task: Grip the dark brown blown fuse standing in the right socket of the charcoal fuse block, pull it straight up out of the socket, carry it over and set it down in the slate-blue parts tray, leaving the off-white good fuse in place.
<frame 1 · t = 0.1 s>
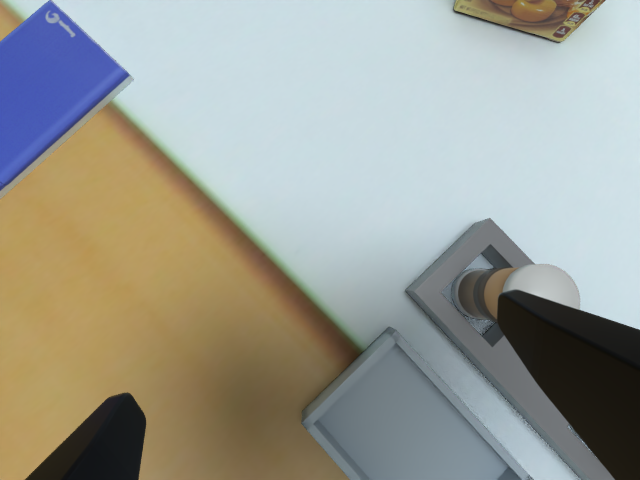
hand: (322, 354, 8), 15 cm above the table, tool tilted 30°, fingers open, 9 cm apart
blown fuse: (475, 293, 23), resting in fuse block
candy box: (510, 7, 26), on the table
parts tray: (408, 437, 22), on the table
hard drive: (39, 105, 25), on the table
fuse block: (533, 353, 23), on the table
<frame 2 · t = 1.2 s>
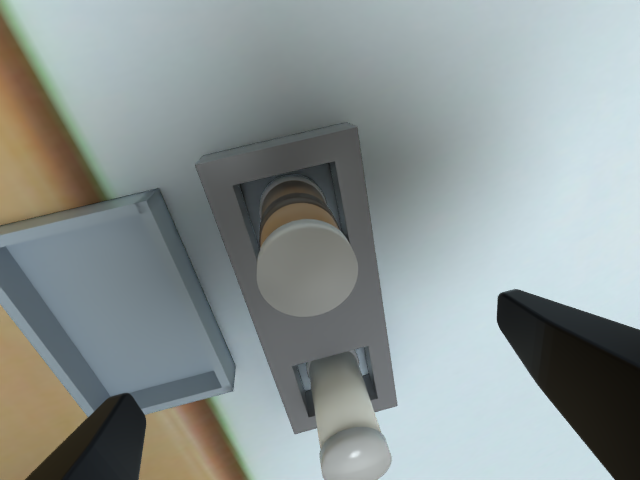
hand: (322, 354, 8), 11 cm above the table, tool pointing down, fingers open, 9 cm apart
blown fuse: (292, 206, 17), resting in fuse block
parts tray: (131, 308, 19), on the table
good fuse: (331, 358, 22), resting in fuse block
fuse block: (314, 292, 20), on the table
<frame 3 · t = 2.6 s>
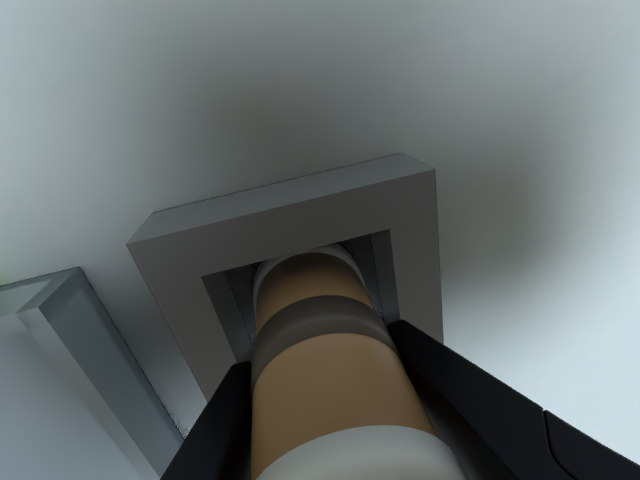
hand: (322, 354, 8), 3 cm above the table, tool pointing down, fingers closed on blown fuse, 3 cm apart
blown fuse: (307, 285, 11), resting in fuse block, touching gripper
parts tray: (51, 439, 12), on the table
fuse block: (337, 401, 13), on the table
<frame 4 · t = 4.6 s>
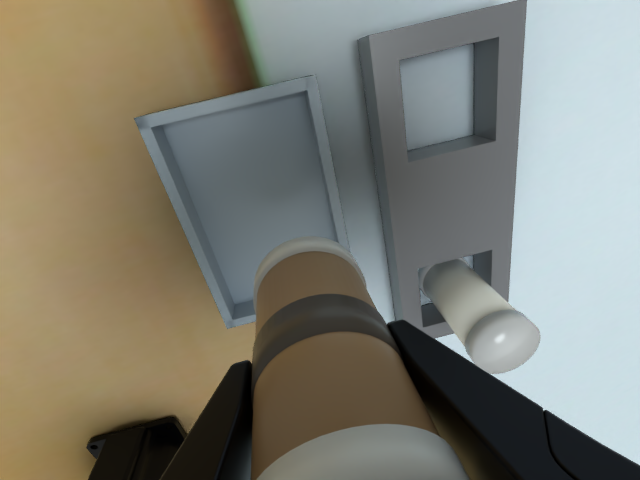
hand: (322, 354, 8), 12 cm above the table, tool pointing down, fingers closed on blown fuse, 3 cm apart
blown fuse: (308, 284, 11), point 9 cm above the table, touching gripper
parts tray: (265, 208, 19), on the table
good fuse: (440, 273, 23), resting in fuse block
fuse block: (437, 197, 20), on the table
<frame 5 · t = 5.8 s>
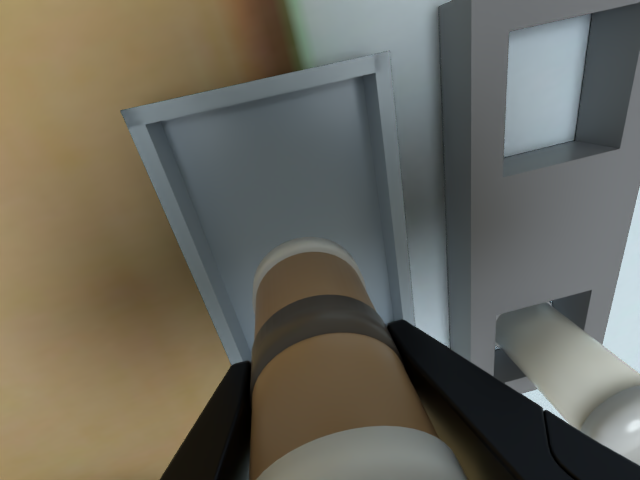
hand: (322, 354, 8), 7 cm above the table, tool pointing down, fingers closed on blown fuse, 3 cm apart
blown fuse: (307, 285, 11), point 4 cm above the table, touching gripper
parts tray: (298, 235, 14), on the table
good fuse: (511, 314, 18), resting in fuse block
fuse block: (518, 221, 15), on the table
when the fingers open (4 cm above the table, at t = 6.6 s): blown fuse stays where it is, resting on parts tray.
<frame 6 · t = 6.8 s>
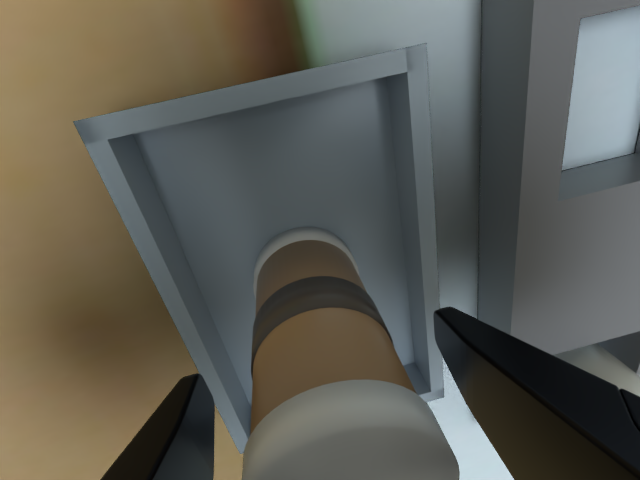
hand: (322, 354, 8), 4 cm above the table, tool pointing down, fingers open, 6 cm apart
blown fuse: (305, 272, 11), resting on parts tray
parts tray: (304, 267, 12), on the table
good fuse: (548, 350, 16), resting in fuse block
fuse block: (563, 247, 13), on the table
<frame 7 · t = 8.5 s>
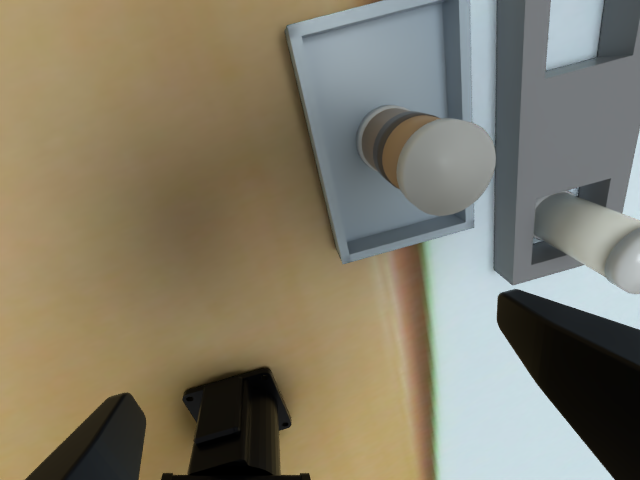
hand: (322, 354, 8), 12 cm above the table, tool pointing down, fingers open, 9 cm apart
blown fuse: (386, 138, 18), resting on parts tray
parts tray: (384, 137, 18), on the table
good fuse: (544, 211, 22), resting in fuse block
fuse block: (552, 127, 20), on the table
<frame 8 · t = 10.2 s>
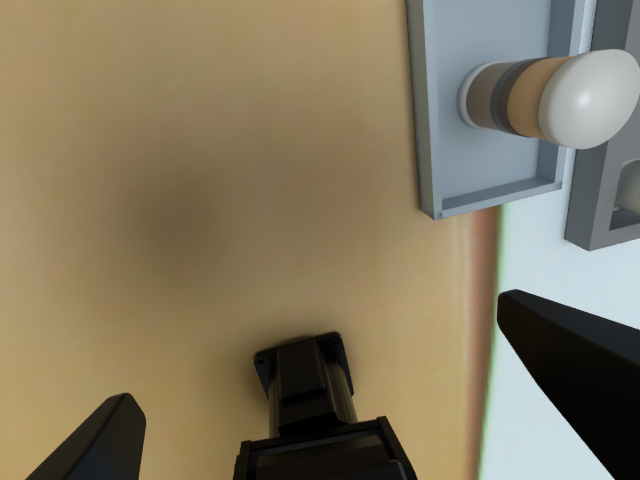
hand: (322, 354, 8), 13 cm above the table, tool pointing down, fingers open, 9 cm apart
blown fuse: (485, 96, 19), resting on parts tray
parts tray: (481, 96, 19), on the table
good fuse: (618, 181, 23), resting in fuse block
fuse block: (636, 94, 20), on the table
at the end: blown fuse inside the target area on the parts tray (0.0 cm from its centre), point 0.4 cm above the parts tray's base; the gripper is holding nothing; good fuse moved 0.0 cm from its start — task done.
